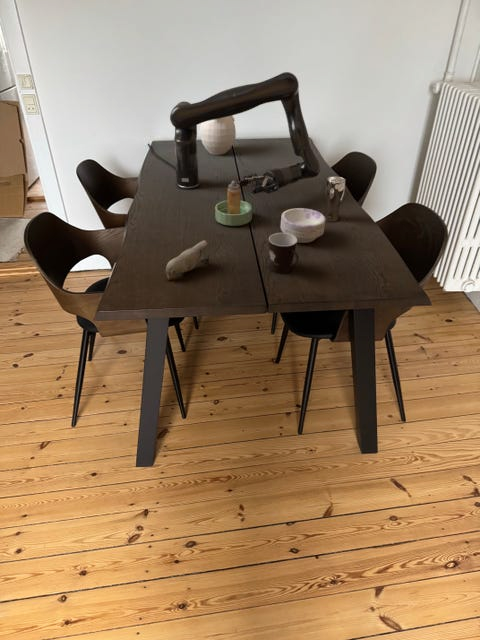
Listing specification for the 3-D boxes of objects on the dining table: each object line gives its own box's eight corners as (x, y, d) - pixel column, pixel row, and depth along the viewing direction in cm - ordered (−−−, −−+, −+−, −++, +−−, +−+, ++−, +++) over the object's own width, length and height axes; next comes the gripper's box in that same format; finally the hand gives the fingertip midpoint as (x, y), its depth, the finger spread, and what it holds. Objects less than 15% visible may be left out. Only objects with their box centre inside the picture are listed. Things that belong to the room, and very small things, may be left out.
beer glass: (339, 222, 161) (346, 183, 152) (320, 221, 162) (326, 182, 153) (340, 215, 166) (346, 176, 157) (321, 213, 167) (327, 175, 158)
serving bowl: (208, 218, 163) (207, 205, 160) (236, 209, 170) (236, 197, 167) (230, 231, 155) (230, 218, 152) (259, 221, 162) (259, 208, 159)
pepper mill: (225, 217, 162) (224, 180, 154) (235, 213, 165) (235, 177, 156) (233, 221, 160) (232, 184, 151) (243, 218, 162) (243, 181, 153)
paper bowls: (326, 231, 156) (329, 210, 151) (318, 250, 144) (321, 228, 139) (285, 224, 159) (287, 204, 154) (274, 243, 148) (276, 221, 143)
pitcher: (235, 157, 220) (235, 104, 205) (199, 157, 220) (196, 104, 205) (236, 147, 235) (236, 96, 219) (202, 146, 235) (200, 96, 220)
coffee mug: (265, 261, 138) (266, 233, 132) (291, 260, 139) (294, 232, 133) (270, 281, 129) (272, 251, 123) (298, 279, 130) (301, 250, 124)
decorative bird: (162, 277, 130) (159, 255, 126) (201, 258, 140) (199, 237, 135) (173, 284, 128) (171, 262, 123) (212, 264, 137) (211, 243, 132)
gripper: (266, 163, 169) (234, 172, 161) (291, 173, 160) (258, 183, 152) (265, 182, 173) (234, 191, 165) (290, 193, 165) (258, 203, 157)
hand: (246, 187), depth 159 cm, fingers open, 8 cm apart
